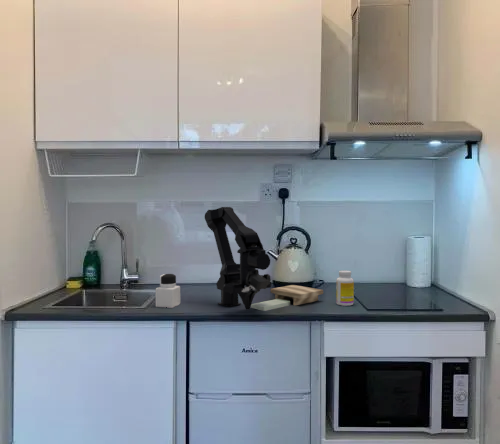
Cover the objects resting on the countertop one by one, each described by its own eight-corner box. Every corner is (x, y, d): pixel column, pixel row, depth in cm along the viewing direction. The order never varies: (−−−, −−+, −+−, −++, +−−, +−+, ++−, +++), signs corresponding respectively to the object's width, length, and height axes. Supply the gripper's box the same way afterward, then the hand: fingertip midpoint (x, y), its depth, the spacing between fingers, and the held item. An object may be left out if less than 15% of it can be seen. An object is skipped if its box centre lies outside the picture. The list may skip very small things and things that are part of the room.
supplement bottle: (357, 305, 186) (357, 271, 185) (344, 306, 182) (344, 273, 182) (345, 301, 192) (346, 269, 191) (332, 303, 188) (332, 270, 188)
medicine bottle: (180, 304, 187) (180, 273, 187) (172, 308, 180) (172, 276, 180) (163, 303, 189) (163, 272, 189) (155, 306, 182) (155, 275, 182)
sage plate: (264, 311, 176) (264, 306, 176) (251, 308, 181) (251, 303, 181) (290, 305, 186) (290, 301, 185) (276, 302, 191) (276, 298, 191)
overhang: (300, 306, 183) (300, 294, 183) (270, 300, 195) (270, 288, 194) (323, 301, 192) (323, 289, 192) (292, 295, 204) (293, 284, 204)
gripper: (243, 271, 162) (243, 317, 163) (281, 266, 175) (281, 309, 176) (222, 268, 170) (222, 312, 171) (260, 263, 183) (260, 304, 184)
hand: (247, 309), depth 175 cm, fingers closed
